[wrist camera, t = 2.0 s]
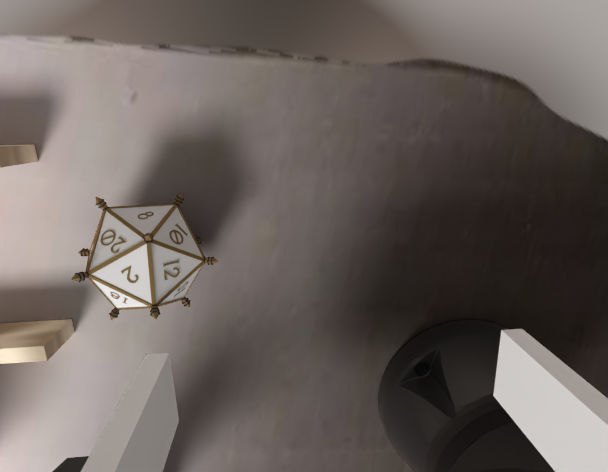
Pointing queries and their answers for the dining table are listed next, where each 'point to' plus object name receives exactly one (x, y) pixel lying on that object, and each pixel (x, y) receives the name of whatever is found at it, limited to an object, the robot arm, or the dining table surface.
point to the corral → (35, 334)
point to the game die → (143, 256)
